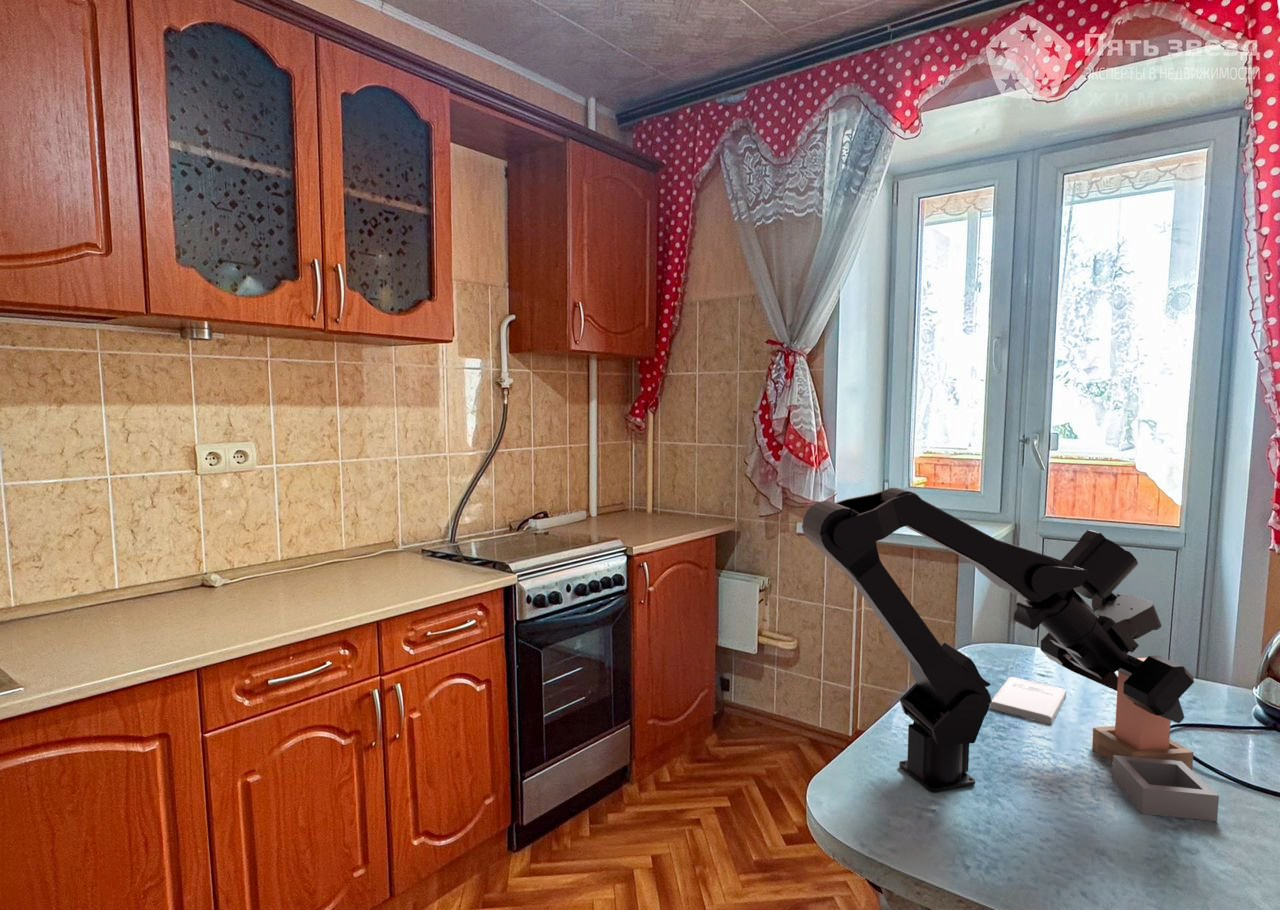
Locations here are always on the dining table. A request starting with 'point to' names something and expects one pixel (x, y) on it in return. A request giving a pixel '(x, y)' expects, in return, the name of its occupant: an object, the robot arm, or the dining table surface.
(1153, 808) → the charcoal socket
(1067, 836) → the dining table surface
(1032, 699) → the external hard drive
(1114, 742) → the walnut socket
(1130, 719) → the peg
